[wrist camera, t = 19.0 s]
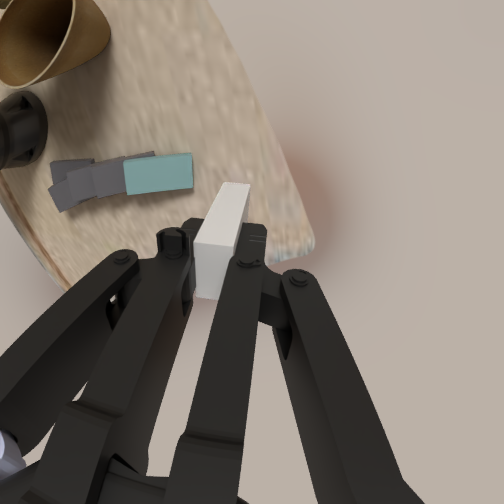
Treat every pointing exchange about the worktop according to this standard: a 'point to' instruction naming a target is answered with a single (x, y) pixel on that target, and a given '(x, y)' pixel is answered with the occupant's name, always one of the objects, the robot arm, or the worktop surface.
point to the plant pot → (48, 39)
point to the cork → (4, 3)
